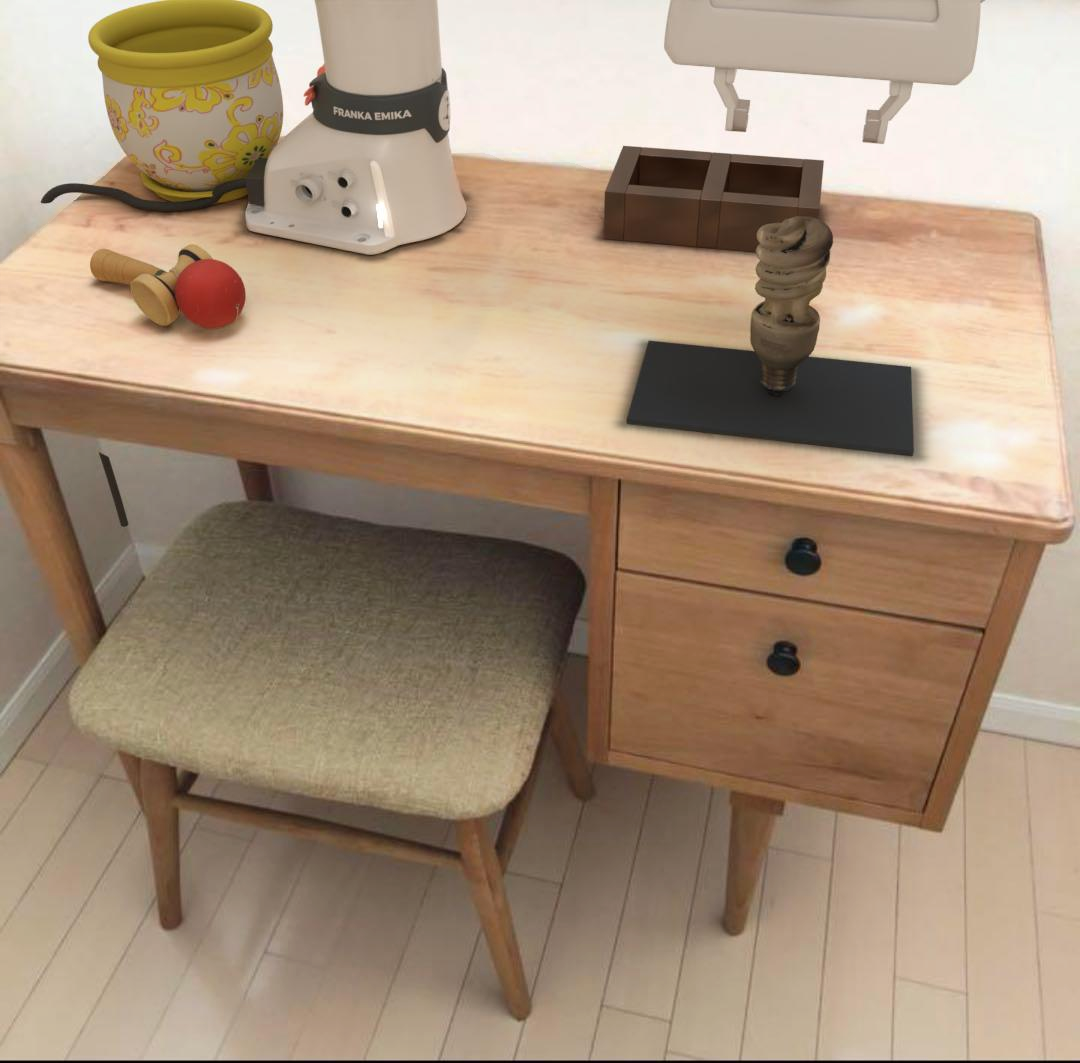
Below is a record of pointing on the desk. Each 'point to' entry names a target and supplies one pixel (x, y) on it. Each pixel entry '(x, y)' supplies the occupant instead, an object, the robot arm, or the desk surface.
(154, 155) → the flowerpot
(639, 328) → the desk surface
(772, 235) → the light bulb
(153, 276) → the kendama
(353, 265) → the desk surface
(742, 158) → the stand
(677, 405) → the mat
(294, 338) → the desk surface
